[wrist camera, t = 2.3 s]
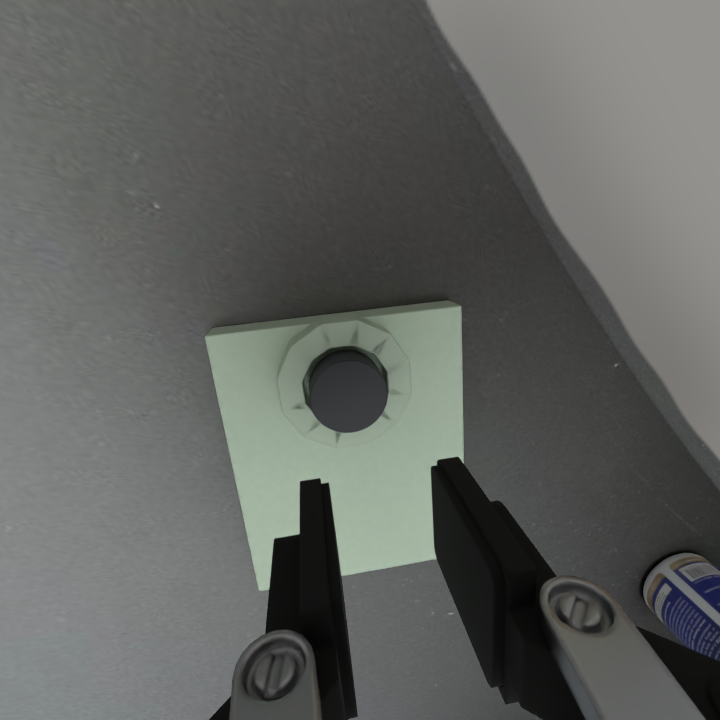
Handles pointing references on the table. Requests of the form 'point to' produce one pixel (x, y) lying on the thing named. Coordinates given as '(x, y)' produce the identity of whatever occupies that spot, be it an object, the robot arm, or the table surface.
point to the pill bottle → (687, 600)
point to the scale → (336, 449)
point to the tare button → (347, 391)
